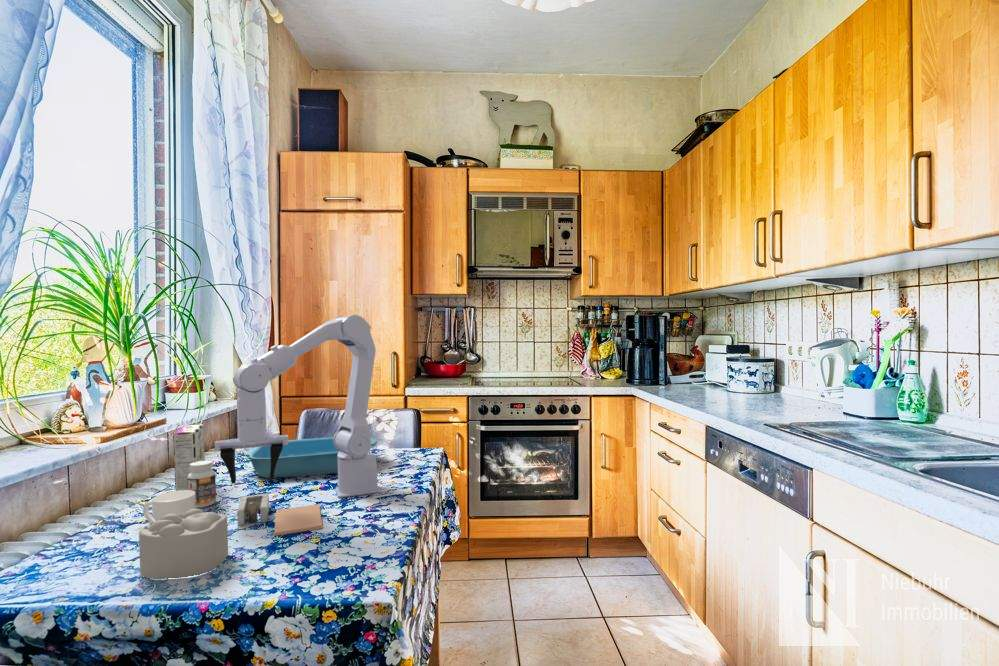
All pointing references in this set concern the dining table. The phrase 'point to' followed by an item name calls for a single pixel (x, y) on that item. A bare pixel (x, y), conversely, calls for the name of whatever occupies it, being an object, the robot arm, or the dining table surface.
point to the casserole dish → (298, 458)
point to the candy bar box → (187, 452)
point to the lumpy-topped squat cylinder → (183, 544)
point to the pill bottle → (202, 483)
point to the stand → (252, 512)
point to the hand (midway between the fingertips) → (253, 480)
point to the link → (261, 505)
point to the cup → (170, 504)
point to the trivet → (297, 519)
